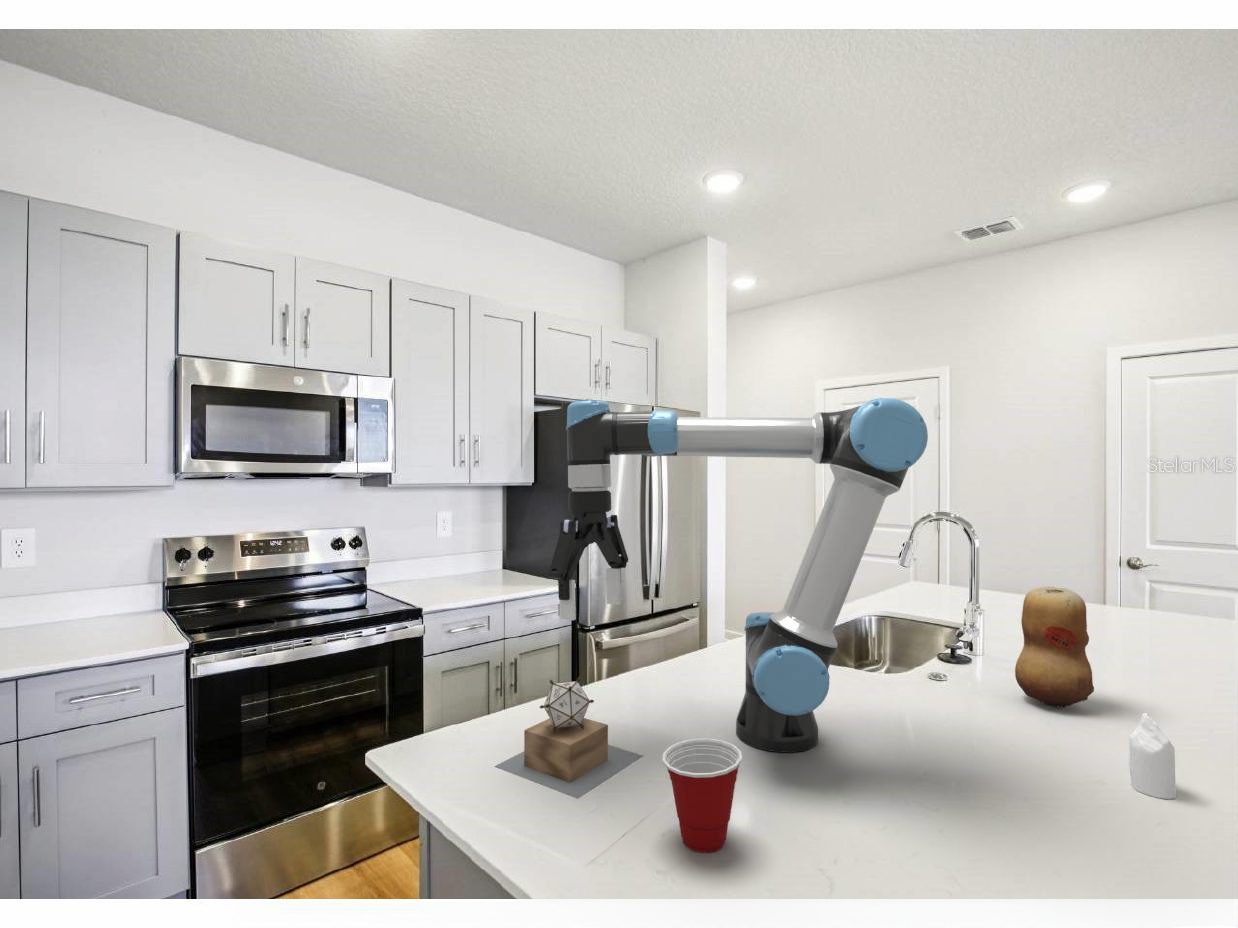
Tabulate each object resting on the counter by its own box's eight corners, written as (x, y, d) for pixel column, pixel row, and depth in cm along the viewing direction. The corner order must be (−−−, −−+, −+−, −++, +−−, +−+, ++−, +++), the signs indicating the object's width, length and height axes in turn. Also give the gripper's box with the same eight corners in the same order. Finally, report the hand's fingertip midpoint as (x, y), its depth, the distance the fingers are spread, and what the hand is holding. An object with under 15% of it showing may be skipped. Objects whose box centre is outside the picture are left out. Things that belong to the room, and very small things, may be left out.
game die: (573, 753, 108) (582, 719, 103) (528, 730, 110) (534, 695, 104) (595, 711, 115) (604, 677, 110) (552, 690, 117) (559, 655, 111)
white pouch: (1185, 721, 100) (1148, 721, 100) (1185, 799, 99) (1148, 799, 100) (1154, 707, 106) (1119, 706, 106) (1154, 780, 105) (1119, 780, 106)
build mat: (643, 758, 113) (643, 755, 113) (577, 802, 98) (577, 798, 98) (564, 733, 123) (564, 730, 123) (494, 769, 109) (494, 766, 109)
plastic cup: (656, 820, 93) (656, 736, 93) (730, 817, 94) (730, 734, 94) (668, 867, 82) (668, 772, 82) (752, 863, 83) (752, 769, 83)
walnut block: (607, 759, 111) (607, 724, 111) (570, 782, 103) (570, 744, 103) (563, 745, 117) (563, 711, 117) (524, 765, 109) (524, 730, 109)
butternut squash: (1021, 711, 136) (1021, 591, 136) (1010, 690, 148) (1010, 581, 148) (1102, 721, 130) (1102, 596, 130) (1083, 699, 143) (1083, 585, 143)
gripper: (611, 487, 126) (614, 596, 126) (525, 492, 105) (528, 623, 105) (644, 487, 122) (647, 600, 122) (561, 492, 101) (564, 629, 101)
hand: (592, 611), depth 114 cm, fingers open, 13 cm apart
